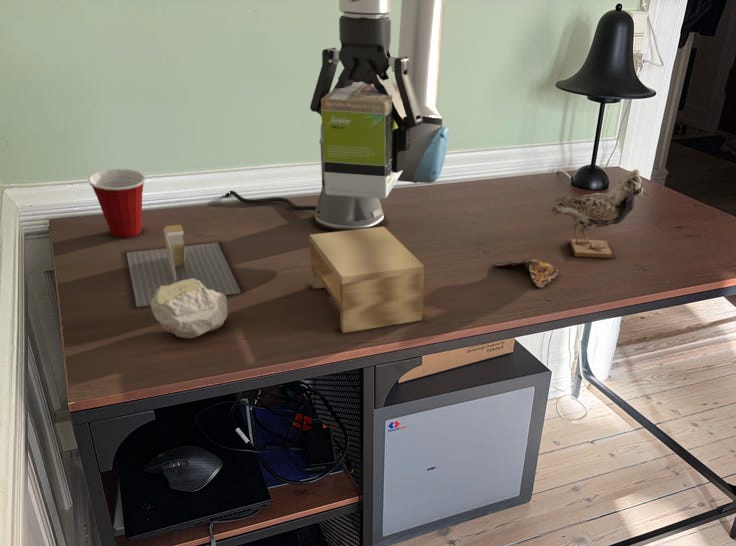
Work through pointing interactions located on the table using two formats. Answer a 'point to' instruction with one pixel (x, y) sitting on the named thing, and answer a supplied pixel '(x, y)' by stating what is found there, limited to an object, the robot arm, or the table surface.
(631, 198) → the stuffed bird
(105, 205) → the plastic cup
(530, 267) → the butterfly model
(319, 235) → the birch shelf
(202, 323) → the white rock
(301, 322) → the table surface
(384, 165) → the tea box
